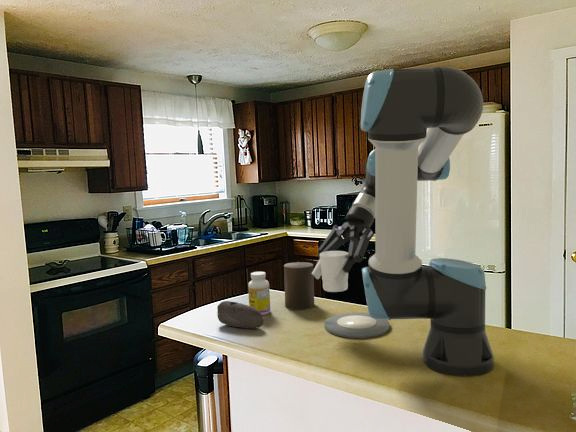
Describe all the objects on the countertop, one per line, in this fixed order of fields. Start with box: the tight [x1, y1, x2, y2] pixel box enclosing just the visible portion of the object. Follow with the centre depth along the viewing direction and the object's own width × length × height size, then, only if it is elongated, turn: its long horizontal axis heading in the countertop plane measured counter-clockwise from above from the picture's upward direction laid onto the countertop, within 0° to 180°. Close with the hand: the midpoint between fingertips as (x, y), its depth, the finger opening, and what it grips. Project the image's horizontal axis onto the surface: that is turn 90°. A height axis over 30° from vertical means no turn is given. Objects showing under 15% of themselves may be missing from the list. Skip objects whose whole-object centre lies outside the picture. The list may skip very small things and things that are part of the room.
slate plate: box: [324, 312, 390, 339], centre depth 134 cm, size 18×18×2 cm
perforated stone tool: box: [216, 300, 264, 330], centre depth 138 cm, size 15×5×7 cm, turn 58°
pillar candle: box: [283, 261, 315, 310], centre depth 157 cm, size 10×10×15 cm
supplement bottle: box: [247, 271, 271, 316], centre depth 150 cm, size 7×7×13 cm
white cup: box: [319, 250, 349, 293], centre depth 131 cm, size 8×8×10 cm
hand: (325, 278), depth 129 cm, fingers closed on white cup, 8 cm apart
